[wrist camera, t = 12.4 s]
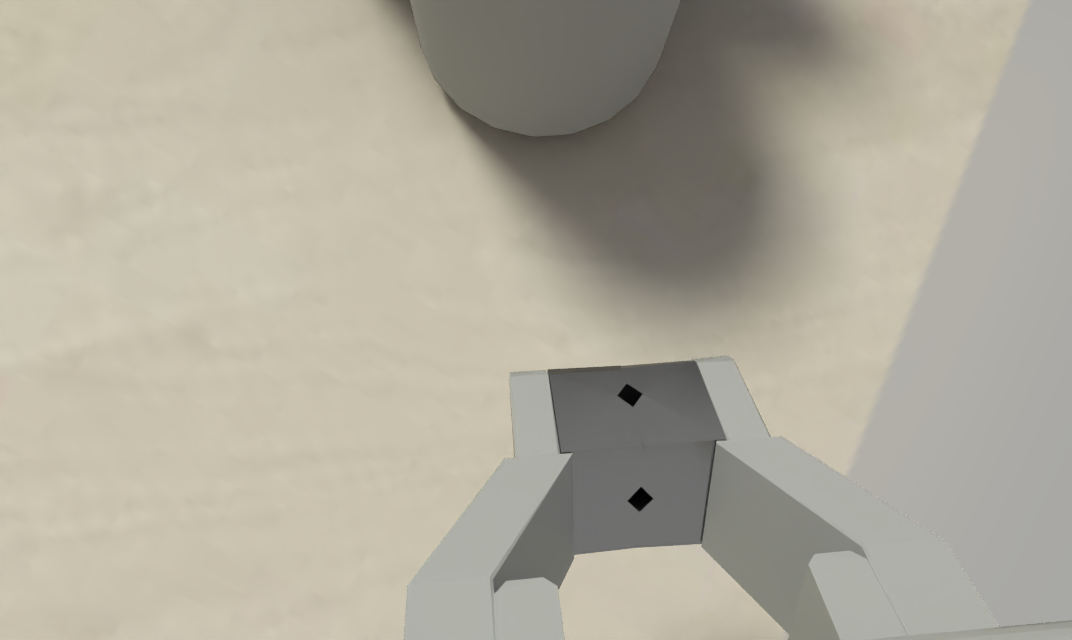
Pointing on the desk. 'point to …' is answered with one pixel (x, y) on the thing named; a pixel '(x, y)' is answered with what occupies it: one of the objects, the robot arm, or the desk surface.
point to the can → (543, 57)
